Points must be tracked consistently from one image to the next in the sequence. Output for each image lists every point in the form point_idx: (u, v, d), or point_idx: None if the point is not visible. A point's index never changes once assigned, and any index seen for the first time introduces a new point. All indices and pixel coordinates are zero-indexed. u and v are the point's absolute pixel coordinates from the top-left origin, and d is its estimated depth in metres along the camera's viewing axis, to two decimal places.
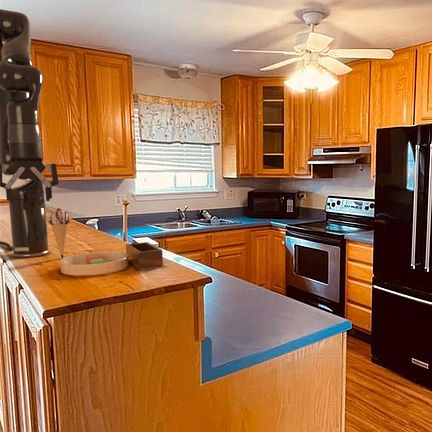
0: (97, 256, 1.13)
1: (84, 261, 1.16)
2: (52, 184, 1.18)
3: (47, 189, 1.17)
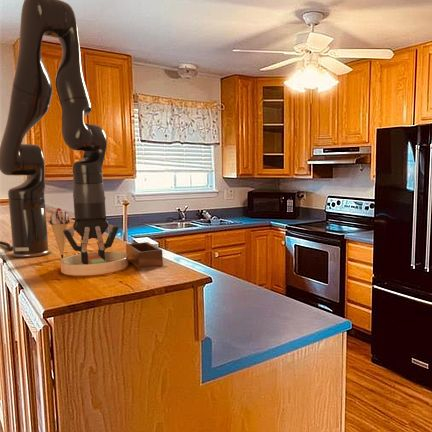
0: (97, 256, 1.13)
1: None
2: (105, 247, 1.14)
3: (100, 252, 1.14)
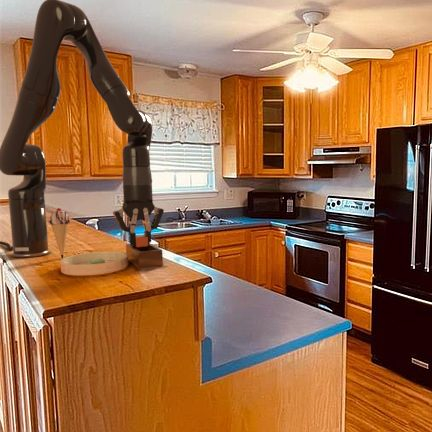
0: (144, 237, 1.17)
1: (84, 261, 1.16)
2: (151, 228, 1.19)
3: (147, 233, 1.18)
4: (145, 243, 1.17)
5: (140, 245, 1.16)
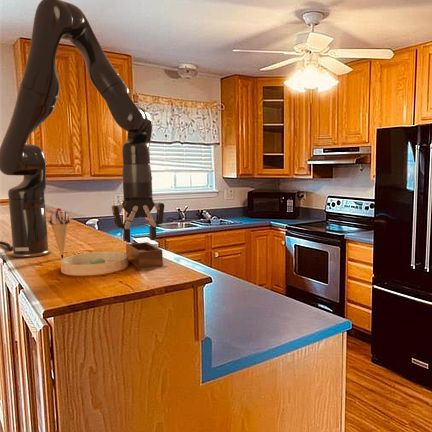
0: None
1: (84, 261, 1.16)
2: (156, 223, 1.20)
3: (152, 228, 1.19)
4: None
5: None
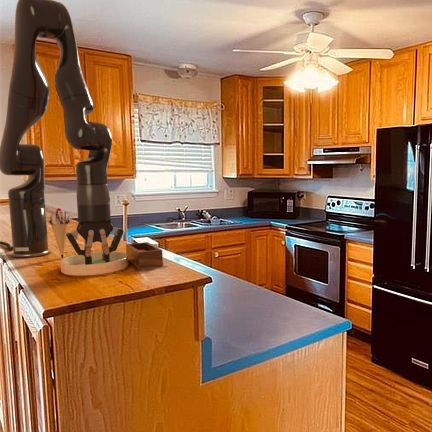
0: None
1: (84, 261, 1.16)
2: (110, 250, 1.09)
3: (105, 256, 1.09)
4: None
5: None
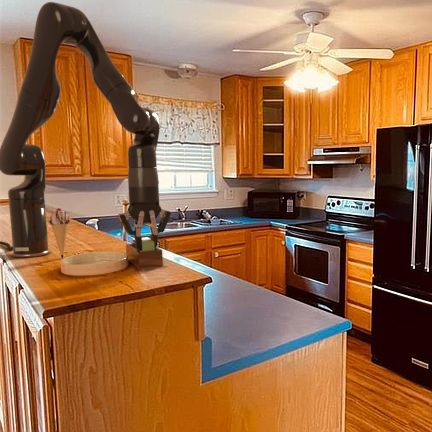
0: None
1: (84, 261, 1.16)
2: (158, 231, 1.14)
3: (154, 237, 1.13)
4: None
5: None
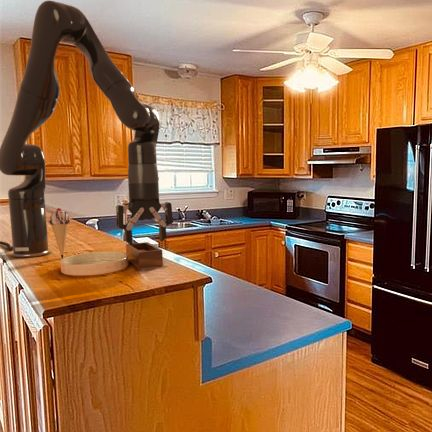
0: None
1: (84, 261, 1.16)
2: (166, 224, 1.15)
3: (162, 229, 1.14)
4: None
5: None
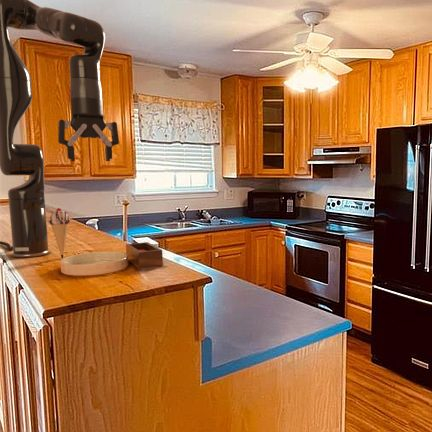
0: None
1: (84, 261, 1.16)
2: (112, 144, 1.14)
3: (108, 148, 1.13)
4: None
5: None
